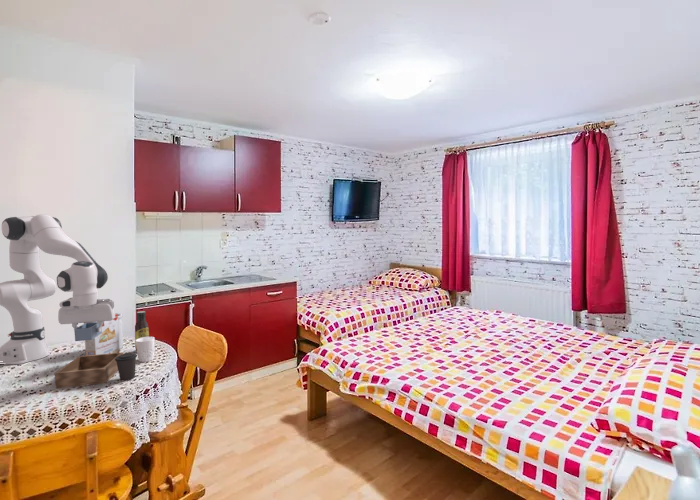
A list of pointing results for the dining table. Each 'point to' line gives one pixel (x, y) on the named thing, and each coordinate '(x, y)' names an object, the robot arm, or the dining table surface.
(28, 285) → the robot arm
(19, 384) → the dining table surface
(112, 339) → the cracker box
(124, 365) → the coffee cup
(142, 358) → the white cup
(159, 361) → the dining table surface
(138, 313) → the sauce bottle
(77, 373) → the big crate
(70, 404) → the dining table surface
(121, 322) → the white container
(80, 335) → the small crate
